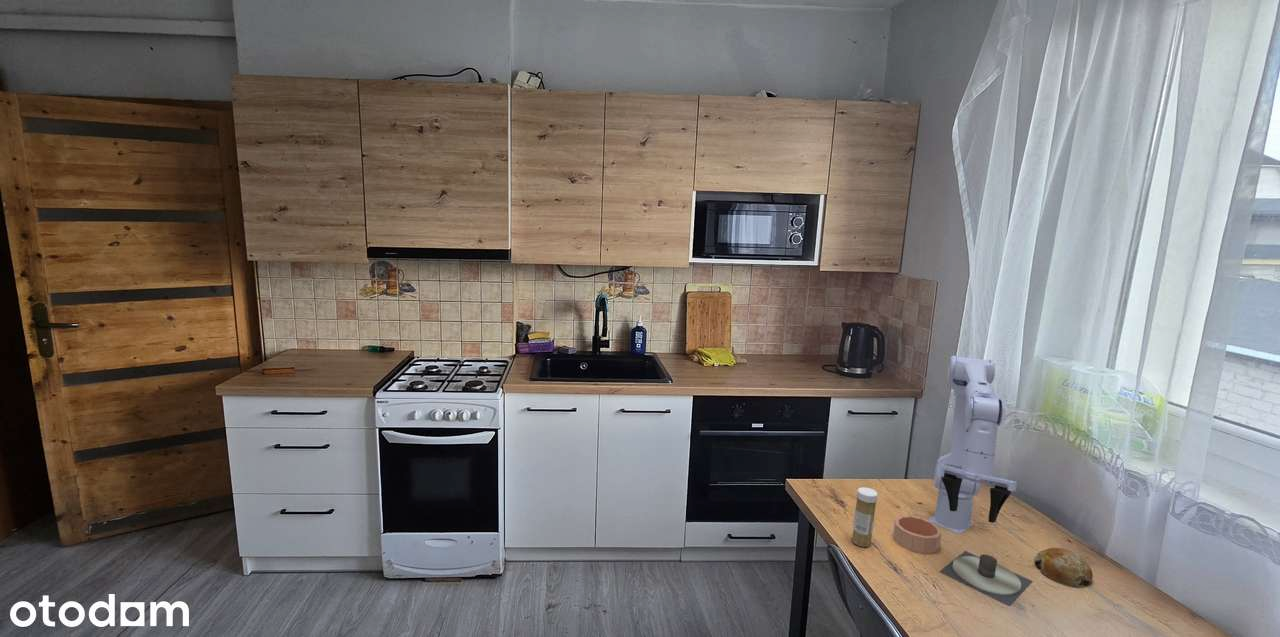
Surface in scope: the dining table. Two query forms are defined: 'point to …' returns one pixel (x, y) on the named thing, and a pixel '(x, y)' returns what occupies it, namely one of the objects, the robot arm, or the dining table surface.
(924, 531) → the bowl
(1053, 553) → the bread roll
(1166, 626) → the dining table surface
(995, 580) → the lid
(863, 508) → the sprinkles bottle
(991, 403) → the robot arm
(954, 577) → the mat
